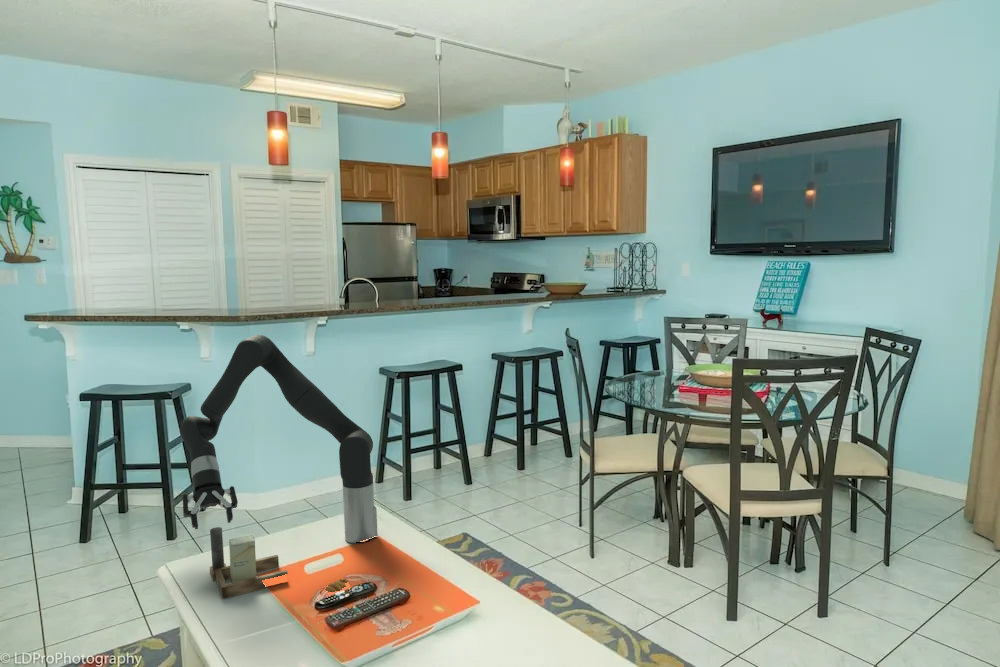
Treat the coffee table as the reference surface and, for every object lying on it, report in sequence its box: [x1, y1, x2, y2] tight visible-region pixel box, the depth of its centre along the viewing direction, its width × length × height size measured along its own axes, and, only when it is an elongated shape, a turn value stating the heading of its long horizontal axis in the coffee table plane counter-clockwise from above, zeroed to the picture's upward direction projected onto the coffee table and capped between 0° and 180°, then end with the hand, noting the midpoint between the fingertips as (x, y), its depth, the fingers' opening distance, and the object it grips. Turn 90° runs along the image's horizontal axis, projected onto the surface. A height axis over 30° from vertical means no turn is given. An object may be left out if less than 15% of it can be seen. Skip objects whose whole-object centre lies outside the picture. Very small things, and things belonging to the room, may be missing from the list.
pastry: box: [325, 578, 349, 592], centre depth 164 cm, size 9×7×4 cm
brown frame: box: [209, 526, 288, 600], centre depth 176 cm, size 17×18×12 cm
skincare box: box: [228, 534, 257, 584], centre depth 172 cm, size 6×4×12 cm
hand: (213, 524), depth 183 cm, fingers open, 8 cm apart
